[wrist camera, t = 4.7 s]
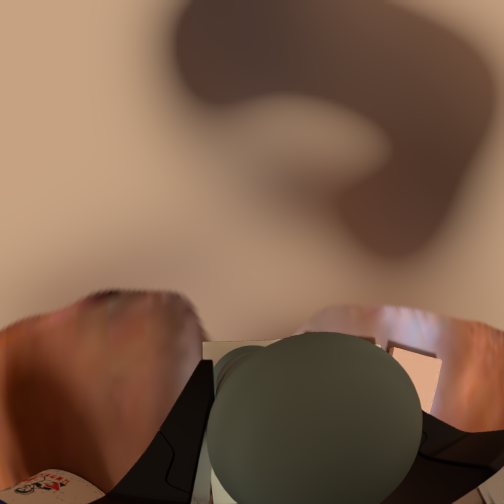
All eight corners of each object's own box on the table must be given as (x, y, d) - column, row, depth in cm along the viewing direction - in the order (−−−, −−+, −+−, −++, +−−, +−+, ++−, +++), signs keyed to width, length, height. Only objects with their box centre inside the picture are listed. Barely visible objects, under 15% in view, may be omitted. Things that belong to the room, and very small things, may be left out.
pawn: (249, 439, 13) (331, 597, 1) (191, 382, 14) (97, 456, 2) (307, 385, 15) (502, 407, 3) (253, 329, 16) (363, 225, 4)
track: (253, 569, 10) (254, 573, 9) (84, 435, 13) (80, 437, 12) (450, 377, 17) (455, 377, 17) (325, 233, 21) (327, 230, 20)
